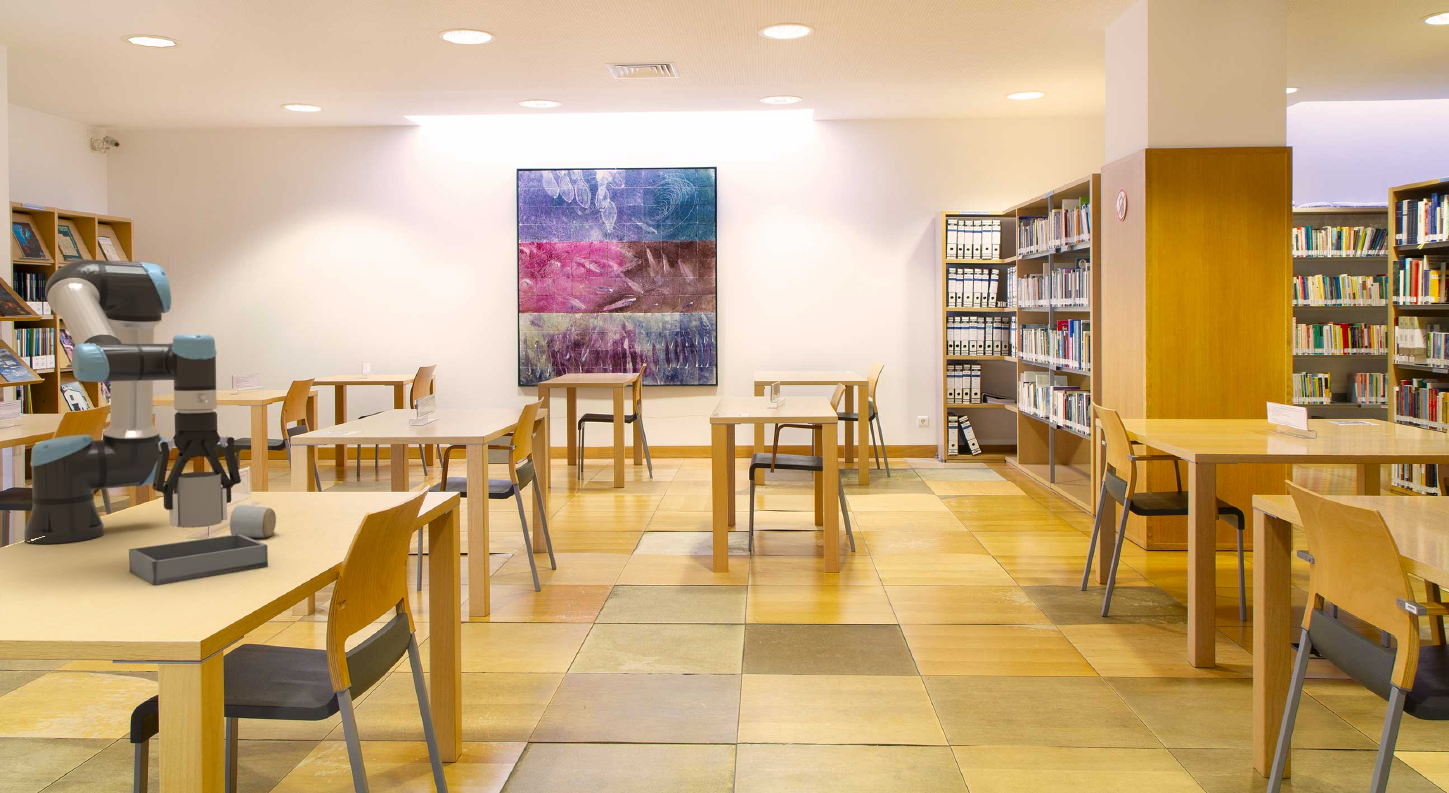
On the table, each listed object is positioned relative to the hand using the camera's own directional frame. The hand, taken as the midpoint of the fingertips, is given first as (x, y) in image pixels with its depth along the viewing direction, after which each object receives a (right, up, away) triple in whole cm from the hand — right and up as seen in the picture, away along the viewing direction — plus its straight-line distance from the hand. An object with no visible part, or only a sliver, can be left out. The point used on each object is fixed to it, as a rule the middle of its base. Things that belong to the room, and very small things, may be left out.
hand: (198, 522), depth 192 cm
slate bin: (0, -10, +1) cm, 10 cm away
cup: (0, -1, 0) cm, 1 cm away
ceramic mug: (-4, -8, +32) cm, 33 cm away
